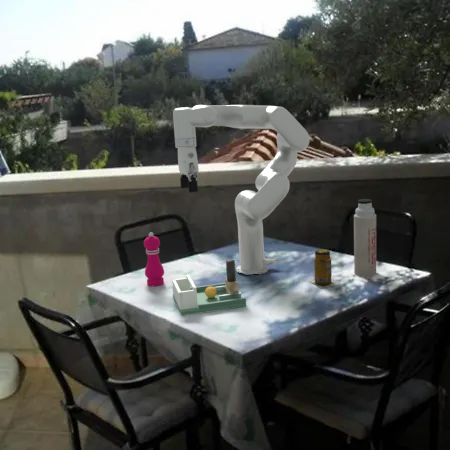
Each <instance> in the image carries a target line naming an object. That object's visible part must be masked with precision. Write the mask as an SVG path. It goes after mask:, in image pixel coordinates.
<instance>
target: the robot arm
mask: <svg viewBox="0 0 450 450" xmlns="http://www.w3.org/2000/svg"><path fill="white" fill-rule="evenodd" d="M172 111H173V112H172V118H173V119H172V120H173V131H174V144H175V145H174V146H175V149H177V163H178V171H179V178H180V179H179V180H180V188H181V189H187V188H188V192H189V193H196V192H198V191H199V190H198V188H199V187H198V178H197V177H198V174H199V173H200V170H199V161H198V154H197V148H196V147H197V135H196V132H197V131H196V128H210V127H212V126H213V127H214V126H216V127H217V126H218V127H220V126H221V127H229V128H232V129H247V130H248V129H257V130H258V129H264V130H265V129H266V130H274V131H275V132H276V133H277V135H276V144H277V151H276V153H275V156H274V157H273V158H272V159H271V161H270V162H269V163H267V166H265V168H264V169H263V170H262V171H261V172H260V173H259V174H258V175H257V177H256V178H255V184H254V185H255V188H256V189H257V190H258V191H257V192H256V191H255V190H250V189H245V190H242V191H240V192H239V193H238V194H237V196H236V197H235V200H234V209H235V216H236V220H237V233H238V235H237V237H238V251H239V252H238V253H239V254H238V255H239V265H238V266H237V267H235V272H237V273H238V272H239V273H252V274H259V275H262V274H265V273H267V272H269V266H270V265H277V263H278V262H277V259H276V258H274V259H273V258H271V257H270V258H266V257H265V249H264V227H263V226H264V224H263V220H265V218H267V217H268V216H270V215H271V213H272V212H274V210H275V209H276V208H277V207H278V206H279V205H280V203H281V202H282V201H283V200H284V199H285V198H286V197H287V194H288V193H289V190H290V183H291V182H290V180H289V175H290V174H291V173H292V171H294V169H295V167H296V164H297V161H298V152H303V151H305V150H306V149H307V148H308V146H309V144H310V141H311V140H310V139H311V138H310V135H309V132H308V131H307V130H306V129H305V127H303V125H302V124H301V123H300V122H299V121H298V120H297V119H296V118H295V117H294V115H293V114H292V113H291V112H289V111H288V110H287V109H286V108H285V107H283V106H277V105H276V106H275V105H257V104H256V105H255V104H254V105H253V104H230V105H229V104H228V105H227V104H226V105H223V104H221V105H220V104H219V105H217V104H216V105H214V104H213V105H212V104H211V105H209V104H197V105H194V106H193V107H187V106H186V107H177V108H174V109H173V110H172ZM239 273H238V274H239Z"/></svg>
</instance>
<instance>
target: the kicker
mask: <svg viewBox="0 0 450 450" xmlns="http://www.w3.org/2000/svg"><path fill="white" fill-rule="evenodd" d="M225 267H226V278H225V277H224V280H225V282H224V283H226V292H227V294H233V293H239V282H238V281H237V279H236V278H237V277H236V276H237V275H236V261H235V259H227V260H225Z"/></svg>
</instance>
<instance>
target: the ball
mask: <svg viewBox="0 0 450 450" xmlns="http://www.w3.org/2000/svg"><path fill="white" fill-rule="evenodd" d="M216 294H217V291H216V289H215V288H214V287H211V286H210V287H208V288H206V290H205V295H206V296H207V297H208V298H214V297H215V296H216Z"/></svg>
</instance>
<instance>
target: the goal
mask: <svg viewBox="0 0 450 450" xmlns="http://www.w3.org/2000/svg"><path fill="white" fill-rule="evenodd" d="M171 281H172V283H171V284H172V292H173V293H172V297H173V296H174V298H175V300H176V302H177V305H178V307H179V309H180V310H183V309H190V308H197V307H198V303H197V289H196V287H197V286H196V285H195V282H194V281H193V279H192V277H191V275H190V274H186V275H185V277H182V278H174V279H172V280H171ZM190 287H192V289H193V290H190ZM174 298H173V299H174ZM177 305H176V306H177ZM178 307H177V308H178Z"/></svg>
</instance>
